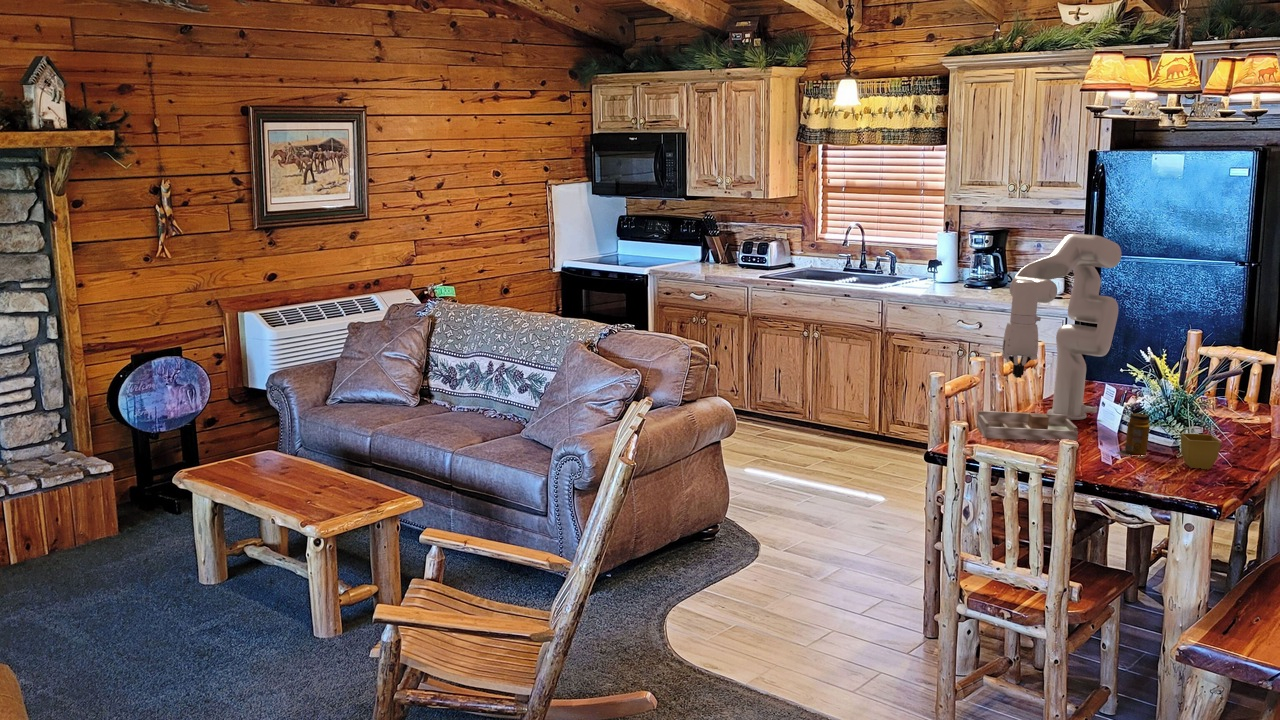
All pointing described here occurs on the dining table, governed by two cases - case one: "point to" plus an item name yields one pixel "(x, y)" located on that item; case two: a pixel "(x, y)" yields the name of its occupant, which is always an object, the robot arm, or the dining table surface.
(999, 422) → the compartment box
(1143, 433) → the condiment
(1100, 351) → the robot arm
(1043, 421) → the walnut block
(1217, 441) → the flower pot
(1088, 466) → the dining table surface
